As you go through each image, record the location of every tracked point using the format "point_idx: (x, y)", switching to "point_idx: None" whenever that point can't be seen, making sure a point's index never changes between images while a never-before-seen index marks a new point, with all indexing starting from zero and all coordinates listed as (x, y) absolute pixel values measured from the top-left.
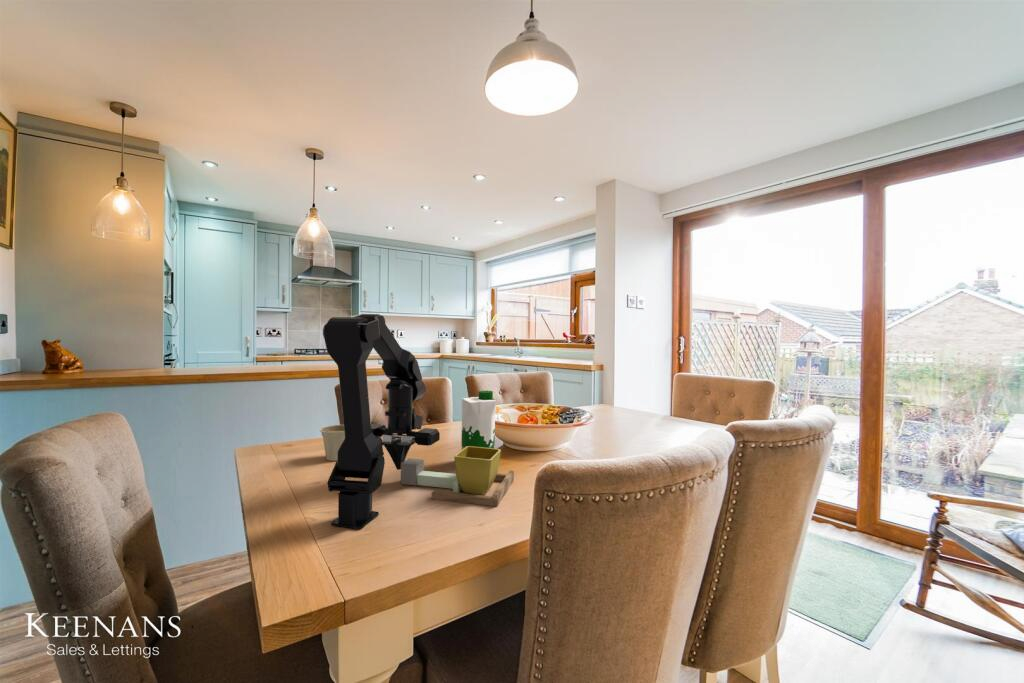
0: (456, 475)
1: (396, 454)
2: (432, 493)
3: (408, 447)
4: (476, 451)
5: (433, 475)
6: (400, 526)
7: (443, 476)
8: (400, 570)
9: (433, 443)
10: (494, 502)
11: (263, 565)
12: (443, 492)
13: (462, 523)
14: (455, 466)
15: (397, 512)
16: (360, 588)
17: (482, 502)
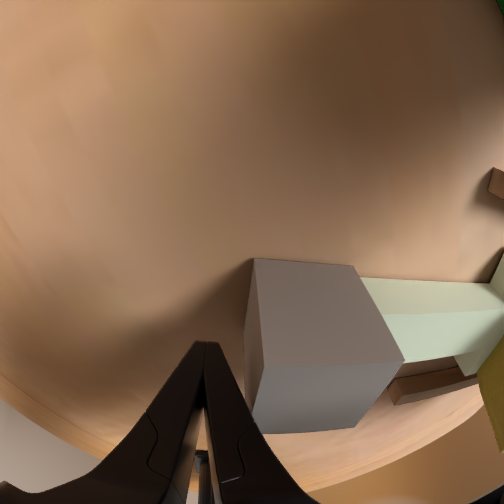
0: (482, 397)
1: (189, 465)
2: (394, 402)
3: (286, 497)
4: None
5: (421, 352)
6: (324, 457)
7: (455, 347)
8: (340, 479)
9: (480, 496)
10: None
11: (190, 490)
12: (424, 396)
13: (426, 423)
14: (491, 423)
15: (305, 441)
16: (307, 490)
17: None
